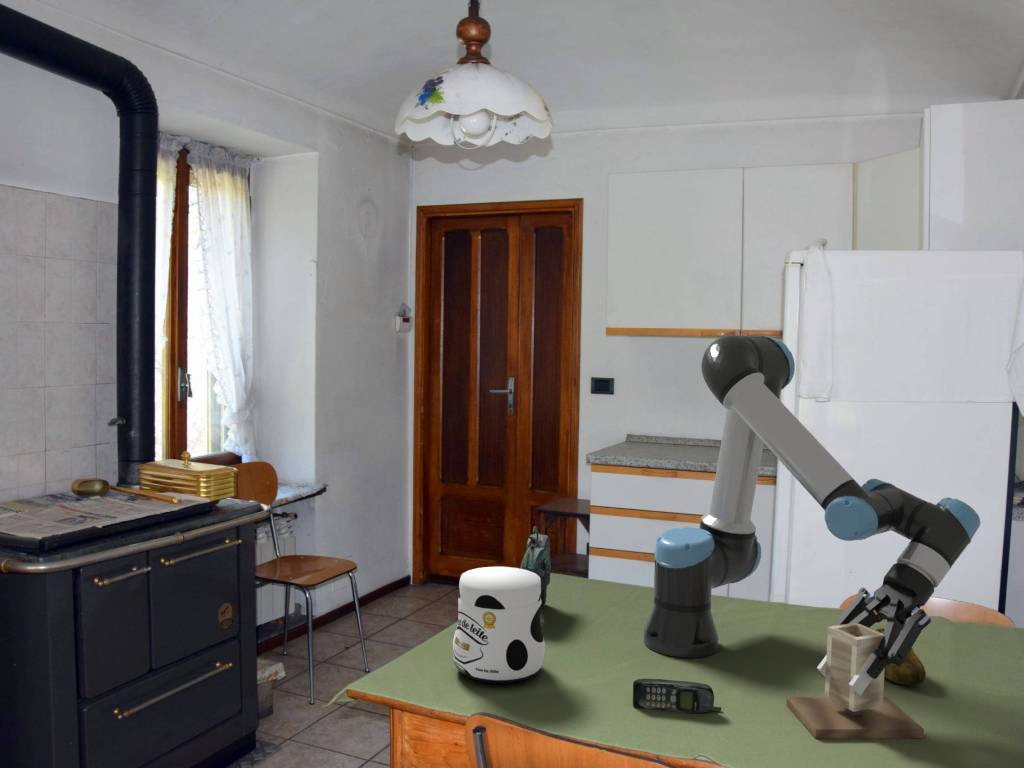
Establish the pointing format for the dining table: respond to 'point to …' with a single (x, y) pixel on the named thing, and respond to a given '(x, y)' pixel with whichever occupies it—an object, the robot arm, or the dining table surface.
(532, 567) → the green statue
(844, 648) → the wooden pencil cup
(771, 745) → the dining table surface
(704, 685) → the mobile phone
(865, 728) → the flat brown rectangular board
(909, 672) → the potato
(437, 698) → the dining table surface
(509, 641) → the doce de leite jar
